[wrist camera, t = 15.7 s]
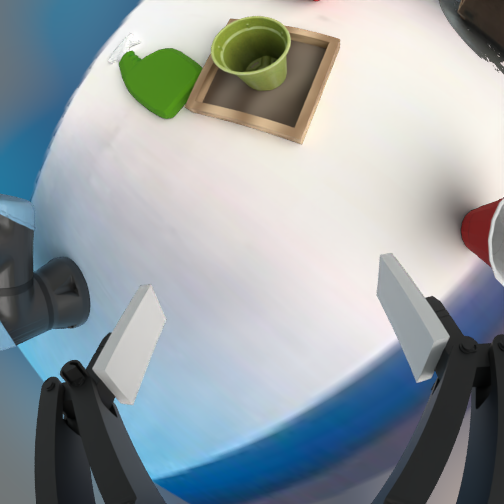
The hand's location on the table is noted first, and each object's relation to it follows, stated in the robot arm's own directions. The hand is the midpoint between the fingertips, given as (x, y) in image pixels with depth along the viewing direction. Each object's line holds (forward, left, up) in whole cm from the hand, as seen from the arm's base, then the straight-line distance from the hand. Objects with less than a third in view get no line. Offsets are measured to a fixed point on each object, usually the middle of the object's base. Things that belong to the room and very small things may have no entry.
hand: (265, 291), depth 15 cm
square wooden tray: (-13, +21, -21) cm, 32 cm away
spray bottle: (-34, +19, -22) cm, 45 cm away
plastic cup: (+23, +13, -21) cm, 34 cm away
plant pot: (-13, +21, -21) cm, 32 cm away
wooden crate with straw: (+22, +55, -21) cm, 63 cm away
